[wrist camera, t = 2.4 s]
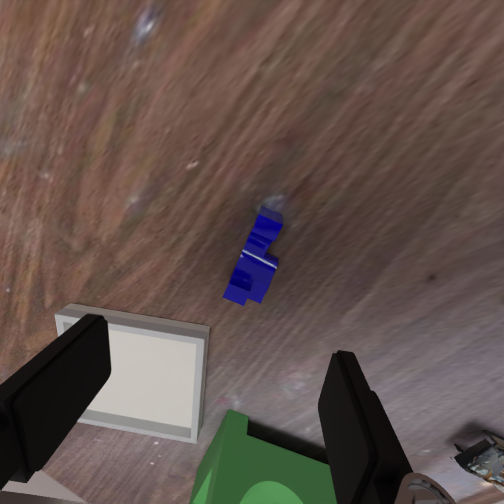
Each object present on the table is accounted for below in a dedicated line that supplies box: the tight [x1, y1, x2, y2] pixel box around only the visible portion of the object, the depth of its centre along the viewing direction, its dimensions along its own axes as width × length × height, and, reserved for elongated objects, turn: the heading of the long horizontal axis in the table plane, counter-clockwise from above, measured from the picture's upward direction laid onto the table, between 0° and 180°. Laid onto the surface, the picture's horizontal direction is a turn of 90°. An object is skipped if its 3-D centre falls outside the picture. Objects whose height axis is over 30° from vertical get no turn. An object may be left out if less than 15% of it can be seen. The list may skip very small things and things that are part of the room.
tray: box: [55, 303, 210, 444], centre depth 30 cm, size 16×16×2 cm
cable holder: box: [223, 206, 283, 306], centre depth 23 cm, size 8×4×4 cm, turn 157°
